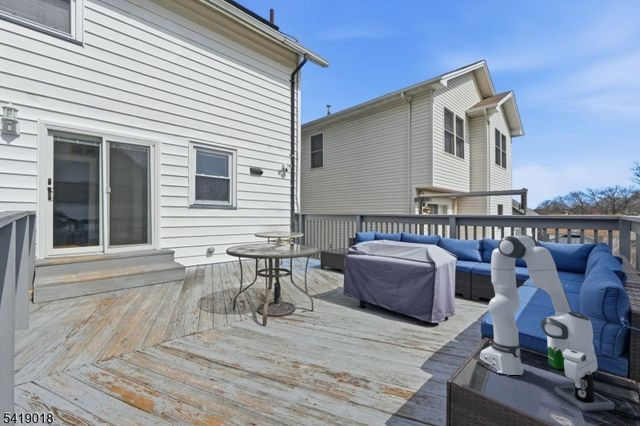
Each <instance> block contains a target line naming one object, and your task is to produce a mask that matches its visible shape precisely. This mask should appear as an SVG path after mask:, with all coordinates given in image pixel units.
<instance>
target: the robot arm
mask: <svg viewBox="0 0 640 426" xmlns="http://www.w3.org/2000/svg"><path fill="white" fill-rule="evenodd" d="M490 258H491V260H490V276H491V284H492V286H493V290H494V297H492V298H491V299H490V301H489V303H488V305H487V309H488V312H489V314H490V317H491V320H492V321H491V322H492V325H493V326H492V329H493V339H491V340H489V344H490V346H487V347H486V348H484V349H482V350H481V351H480V354H479V357H480V359H481V360H483V361H484V362H486V363H488V364H490V365H491V366H493V367H495V368H496V369H497V370H498V371H497V372H498V373H504V374H509V375H521V376H523V375H524V374H525V372H524V369H523V366H522V362H521V345H520V343H519V328H518V327H517V323H516V318H515V313H517V312H518V311H519V309H520V306H521V301H520V298H519V297H520V296H519V292H518V287H517V280H516V279H517V278H516V260H521V259H522V260H524V262H525V263H526V267H527V268H526V269H527V272H528V276H529V279H530V280H531V283H532V284H533V285H534V286H535V287H537V288H538V289H540V290H543V291H544V292H546V293H547V294H548V296H549V297H550V299H551V302H552V305H553V308H554V310H555V313H554V315H550V316H546V317H545V318H542V320H541V322H540V327H541V330H542V331H543V333H544V335H546V337H547V336H549V337H550V338H554V339H563V340H566V341H567V347H566V349H565V351H564V352H563V357H564V358H565V359H564V368H565V369H564V374H565V376H566V378H568V379H571V380H572V381H573V380H574V382H575V386H576V387H578V388H581V387H582V383H580V378H582V377H584V376H585V374H586V373H589V372H591V374H592V375H593V372H596V371H598V359H597V356H596V354H595V346H594V344H593V341H594V331H593V330H594V329H593V324H592V321H591V319H590V317H588V316H587V315H585V314H583V313H580V312H575V311H573V310H572V307H571V304H570V302H569V298H568V296H567V293H566V291H565V288H564V286H563V284H562V282H561V280H560V277H559V273H558V270H557V266H556V263H555V261H554V258H553V256H552V254H551V252H550V250H549V249H548V248H546V247H543V246H539V243H538V241H537V239H535V238H534V237H532V236H530V235H527V234H516V235H515V234H514V235H511V236H509V235H508V236H504V237H502V238H501V239H500V240H499V242H498V244H497V248H494V249H493V250H492V253H491V257H490ZM523 373H524V374H523ZM522 374H523V375H522ZM509 375H508V376H509Z"/></svg>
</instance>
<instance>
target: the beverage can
mask: <svg viewBox="0 0 640 426" xmlns="http://www.w3.org/2000/svg"><path fill="white" fill-rule="evenodd" d="M572 382H573V384H572V386H574V396H575V397H576V398H577V399H578V400H580V401H582V402H586V403H592V402H594V392H595V390H594V389H595V388H594V376H593V373H592V374H591V372H589V373H586V374H585V376H584V377H582V378H580V383H582V387H581V388H578V387H576V386H575V382H574V380H573V379H572Z"/></svg>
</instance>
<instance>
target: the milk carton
mask: <svg viewBox="0 0 640 426" xmlns="http://www.w3.org/2000/svg"><path fill="white" fill-rule="evenodd" d="M546 340H547V357H548V358H547V360H548V364H549V365H550V366H551V367H553V368H554V369H557V370H565V368H564V359H565V358H564V357H563V352H564V351H565V349H566V347H567V341H566V340H563V339H554V338H550V337H549V336H547V335H546Z"/></svg>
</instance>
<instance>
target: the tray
mask: <svg viewBox="0 0 640 426" xmlns="http://www.w3.org/2000/svg"><path fill="white" fill-rule="evenodd" d="M554 394H556V395H557V396H559V397H561V398H562V399H564V400H565V401H566V402H568V403H569V404H572V405H573V406H574V407H576V408H578V409H579V410H580V411H582V412H595V411H614V410H615V408H616V407H615V402H613V401H611V400H610V399H608V398H606V397H605V396H602V395H601V394H599V393H597V392H596V391H594V402H592V403H586V402H582V401H580V400H578V399H577V398H576V397H575V396H574V386H573V385H566V386H554Z"/></svg>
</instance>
